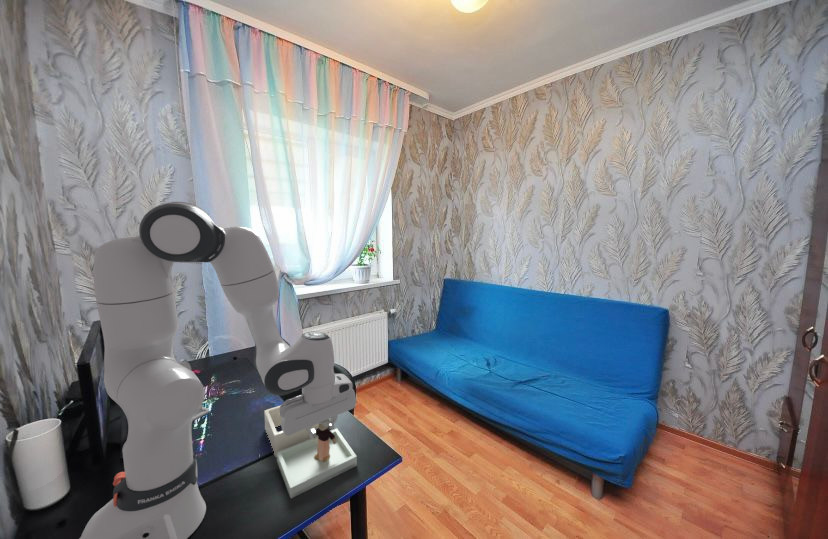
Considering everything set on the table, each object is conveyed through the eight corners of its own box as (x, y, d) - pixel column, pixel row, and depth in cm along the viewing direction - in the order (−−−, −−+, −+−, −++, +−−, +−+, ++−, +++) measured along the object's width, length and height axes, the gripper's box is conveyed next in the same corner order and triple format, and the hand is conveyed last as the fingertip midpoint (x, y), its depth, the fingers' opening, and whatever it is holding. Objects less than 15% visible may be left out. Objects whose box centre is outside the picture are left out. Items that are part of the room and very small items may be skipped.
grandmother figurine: (308, 461, 84) (307, 420, 82) (314, 451, 88) (313, 412, 86) (334, 464, 83) (334, 423, 82) (339, 454, 87) (339, 415, 85)
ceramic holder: (275, 457, 86) (274, 435, 85) (265, 430, 97) (264, 410, 96) (328, 435, 96) (328, 415, 95) (313, 412, 107) (313, 394, 106)
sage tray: (290, 498, 74) (290, 488, 73) (276, 461, 85) (276, 452, 84) (356, 465, 85) (356, 456, 84) (337, 436, 96) (337, 428, 95)
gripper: (282, 409, 73) (286, 457, 76) (357, 381, 85) (359, 424, 88) (275, 396, 78) (280, 442, 81) (348, 372, 90) (349, 412, 93)
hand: (322, 432), depth 84 cm, fingers open, 4 cm apart
